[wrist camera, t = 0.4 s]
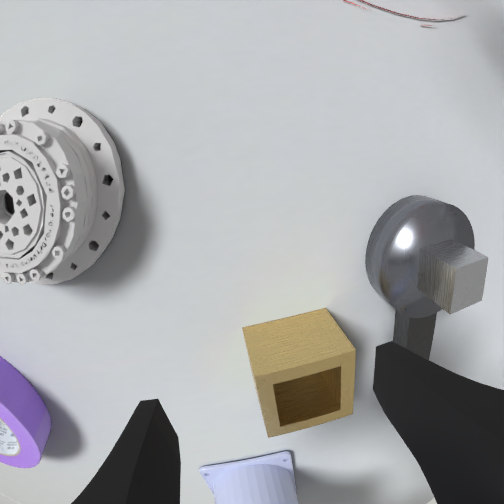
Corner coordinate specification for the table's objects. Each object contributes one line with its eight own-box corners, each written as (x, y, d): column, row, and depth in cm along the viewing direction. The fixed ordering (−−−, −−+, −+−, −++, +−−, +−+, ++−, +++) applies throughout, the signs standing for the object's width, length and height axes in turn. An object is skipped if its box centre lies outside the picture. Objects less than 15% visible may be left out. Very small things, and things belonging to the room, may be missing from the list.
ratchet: (427, 392, 24) (458, 431, 19) (359, 420, 24) (385, 468, 18) (451, 189, 18) (514, 208, 13) (362, 204, 17) (422, 231, 12)
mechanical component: (139, 266, 17) (118, 82, 14) (122, 304, 13) (91, 63, 9) (0, 280, 16) (-26, 126, 12) (-35, 313, 12) (-71, 127, 8)
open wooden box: (328, 369, 21) (352, 414, 17) (255, 388, 21) (268, 437, 16) (325, 308, 19) (355, 349, 15) (242, 327, 19) (254, 376, 15)
